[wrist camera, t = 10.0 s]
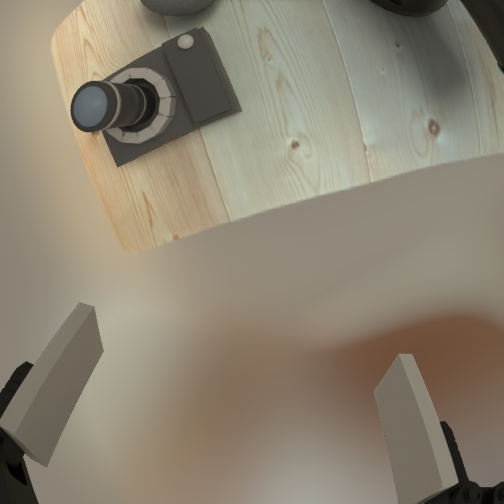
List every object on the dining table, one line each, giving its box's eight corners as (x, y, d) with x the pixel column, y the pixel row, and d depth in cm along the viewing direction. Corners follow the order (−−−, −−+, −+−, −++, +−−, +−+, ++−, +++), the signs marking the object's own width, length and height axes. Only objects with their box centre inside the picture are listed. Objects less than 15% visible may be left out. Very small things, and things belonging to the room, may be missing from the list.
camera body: (209, 34, 29) (197, 20, 23) (242, 110, 33) (236, 111, 27) (101, 91, 32) (74, 92, 26) (130, 161, 36) (107, 172, 31)
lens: (122, 86, 28) (71, 82, 19) (158, 85, 28) (115, 78, 19) (118, 124, 30) (67, 133, 21) (154, 125, 30) (109, 133, 21)
